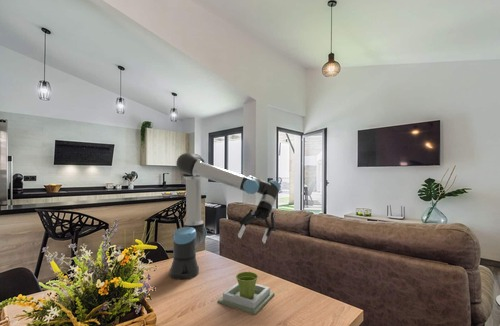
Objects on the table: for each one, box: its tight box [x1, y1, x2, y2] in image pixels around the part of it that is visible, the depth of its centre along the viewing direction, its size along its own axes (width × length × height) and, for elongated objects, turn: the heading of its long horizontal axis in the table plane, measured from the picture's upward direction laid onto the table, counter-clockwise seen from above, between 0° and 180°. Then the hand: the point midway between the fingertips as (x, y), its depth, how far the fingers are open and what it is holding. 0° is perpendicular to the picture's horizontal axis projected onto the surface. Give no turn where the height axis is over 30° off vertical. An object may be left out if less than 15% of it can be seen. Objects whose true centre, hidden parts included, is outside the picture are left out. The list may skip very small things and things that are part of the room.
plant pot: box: [235, 271, 259, 299], centre depth 112 cm, size 9×9×9 cm
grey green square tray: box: [217, 282, 275, 315], centre depth 112 cm, size 18×18×4 cm
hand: (250, 239), depth 125 cm, fingers open, 13 cm apart
